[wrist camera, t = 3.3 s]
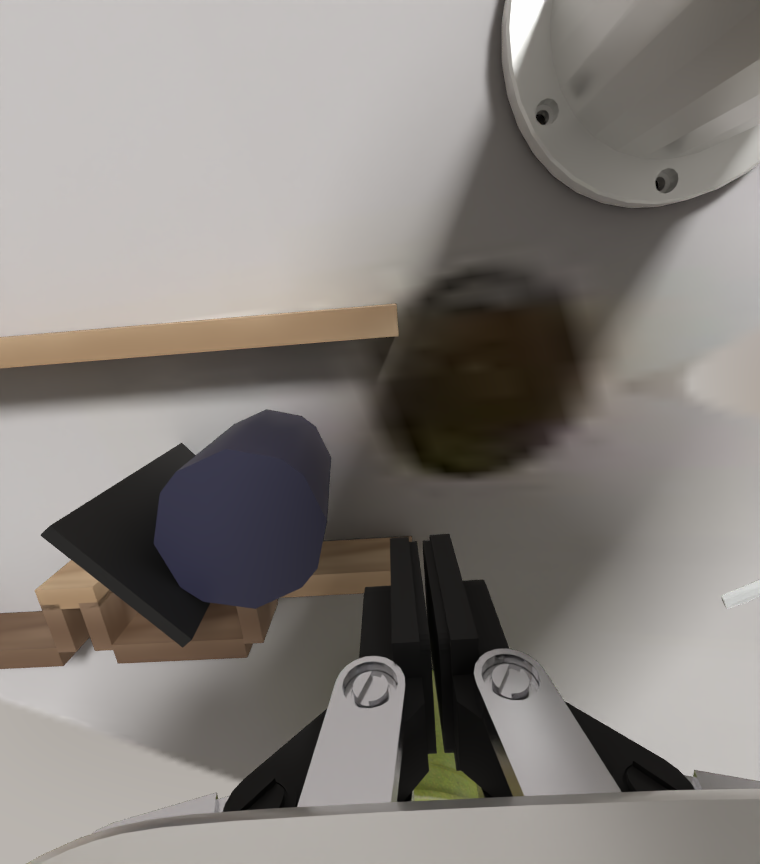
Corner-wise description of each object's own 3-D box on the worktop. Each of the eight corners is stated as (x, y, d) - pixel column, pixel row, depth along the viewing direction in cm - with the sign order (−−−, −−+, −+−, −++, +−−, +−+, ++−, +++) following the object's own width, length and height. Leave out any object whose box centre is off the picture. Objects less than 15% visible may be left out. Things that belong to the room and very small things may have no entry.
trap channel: (-277, 347, 21) (-423, 359, 17) (394, 290, 20) (395, 288, 16) (-123, 636, 27) (-210, 693, 23) (416, 609, 25) (420, 665, 21)
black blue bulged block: (225, 538, 24) (126, 692, 13) (175, 444, 22) (24, 536, 12) (353, 487, 23) (351, 605, 13) (310, 389, 22) (270, 435, 12)
